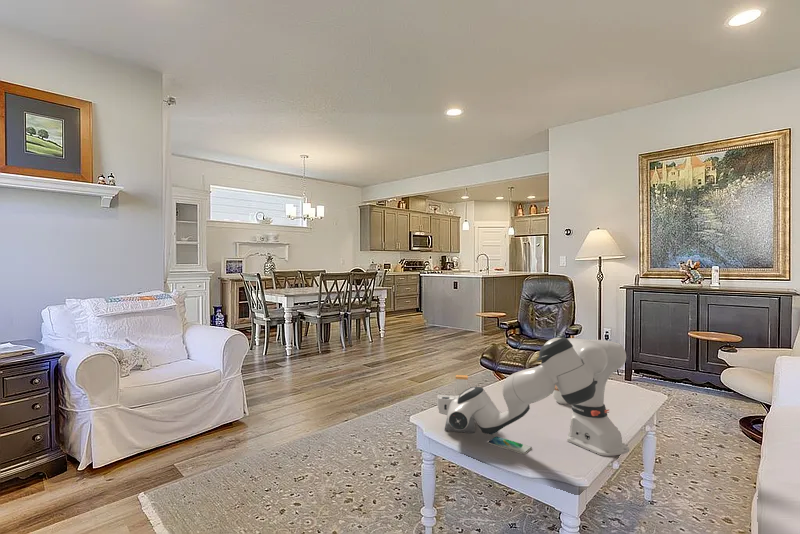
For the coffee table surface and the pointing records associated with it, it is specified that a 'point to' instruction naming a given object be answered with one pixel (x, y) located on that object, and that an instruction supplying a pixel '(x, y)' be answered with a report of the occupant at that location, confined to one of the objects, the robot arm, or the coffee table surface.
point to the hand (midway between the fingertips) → (461, 396)
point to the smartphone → (510, 445)
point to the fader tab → (461, 384)
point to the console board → (469, 429)
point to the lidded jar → (558, 396)
